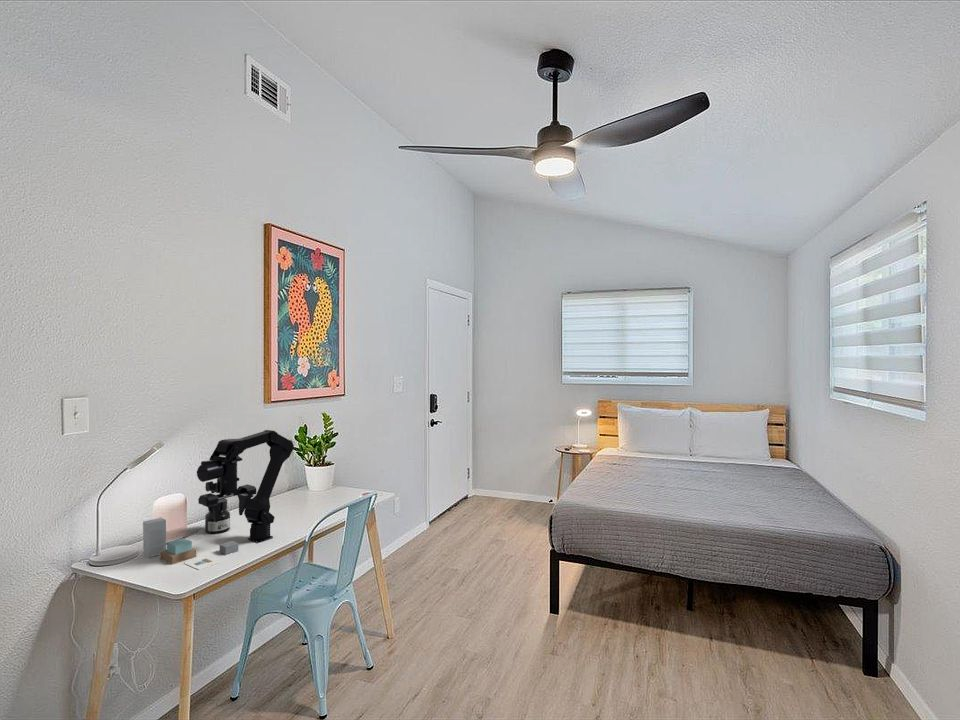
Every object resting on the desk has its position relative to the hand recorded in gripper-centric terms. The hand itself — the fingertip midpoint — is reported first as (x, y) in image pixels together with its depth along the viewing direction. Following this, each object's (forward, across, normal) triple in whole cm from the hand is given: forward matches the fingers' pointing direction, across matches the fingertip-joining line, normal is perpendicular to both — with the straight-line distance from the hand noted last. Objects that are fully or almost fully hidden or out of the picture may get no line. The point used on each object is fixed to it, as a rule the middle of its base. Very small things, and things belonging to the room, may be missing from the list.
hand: (228, 518), depth 186 cm
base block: (+12, +13, -9) cm, 20 cm away
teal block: (+9, +13, -8) cm, 18 cm away
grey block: (+12, 0, 0) cm, 12 cm away
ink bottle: (+12, -10, -24) cm, 29 cm away
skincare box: (+12, +16, -18) cm, 27 cm away
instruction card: (+12, +11, +2) cm, 16 cm away
